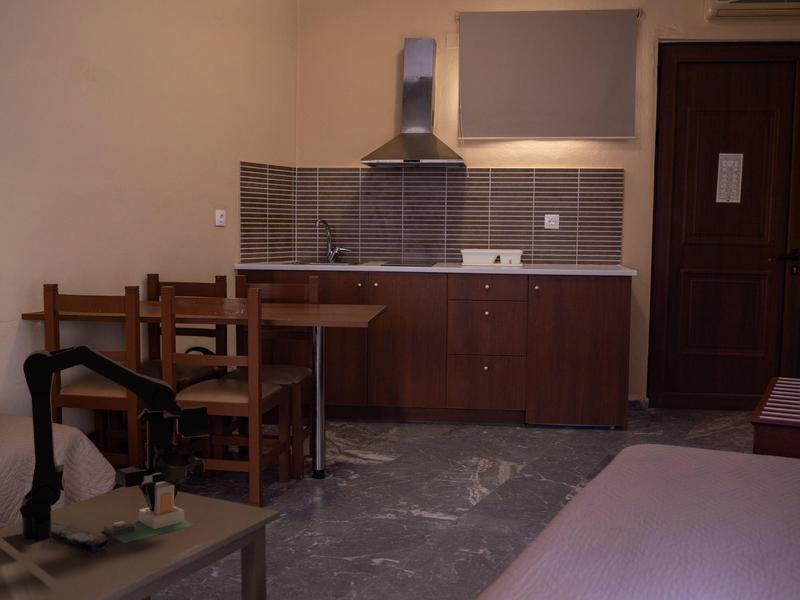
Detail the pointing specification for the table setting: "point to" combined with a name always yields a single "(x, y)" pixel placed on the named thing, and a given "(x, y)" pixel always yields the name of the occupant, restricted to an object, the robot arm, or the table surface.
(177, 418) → the robot arm
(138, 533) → the header board
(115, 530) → the push button
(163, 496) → the plug
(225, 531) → the table surface
